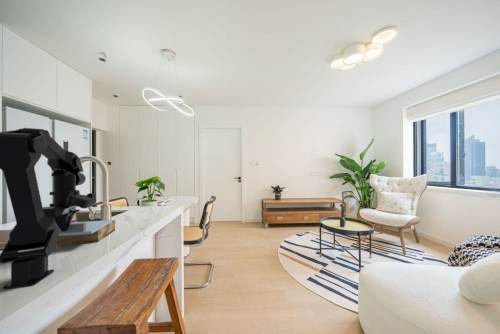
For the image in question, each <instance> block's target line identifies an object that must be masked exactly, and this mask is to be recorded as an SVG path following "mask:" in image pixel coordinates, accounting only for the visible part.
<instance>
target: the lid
mask: <svg viewBox="0 0 500 334" xmlns="http://www.w3.org/2000/svg"><path fill="white" fill-rule="evenodd" d="M112 220H113V219H110V220H93V221H91V220H90V221H75V222H73V223H70V225H69V227H68V230H67V231H65V232H62V231H61V229H60V228H59V227H58V225H57V224H56V223H55V224H56V226H57V230H58V232H59V235H58V236H68V235H82V234H92V233H94V232H95V231H97V230H99V229H101V228H103V227H104V226H106V225H108V224H110V223H111V222H112Z"/></svg>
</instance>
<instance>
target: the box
mask: <svg viewBox="0 0 500 334" xmlns="http://www.w3.org/2000/svg"><path fill="white" fill-rule="evenodd" d="M111 220H112V222H111V223H110V224H108V225H106V226H104V227H103V228H101V229H99V230H97V231H95V232H94V233H92V234H82V235H68V236H58V241H57V246H64V245H75V244H77V245H78V244H88V243H98V242H100V241H102V240H103V239H105V238H106V237H107V236H109V235H110V234H112V233H113V232H114V231H116V220H115V219H111Z"/></svg>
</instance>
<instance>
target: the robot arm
mask: <svg viewBox="0 0 500 334" xmlns="http://www.w3.org/2000/svg"><path fill="white" fill-rule="evenodd" d="M42 156H43V157H45V158H46V159H47V161H46V164H47V166H49V167H50V169H51V171H53V172H52V173H51V177H52V178H53V179H52V180H53V181H52V185H53V186H52V191H50V192H49V196H52V197H53V198H52V199H53V200H52V201H53V202H52V203H49V206H44V207H43V204H42V203H43V202H42V197H41V193H40V190H39V184H38V183H39V182H38V180H37V174H36V170H35V166H36V165H37V163H38V162H39V160H40V159H41V157H42ZM83 168H84V167H83V165H82V161H81V158H80V156H78V155H77V154H76V153H74V152H73V151H69V150H66V149H64V148H63V147H62V146H61V145H60V144H59V143H58V142H57V141H56V140H55V139H54V138H53V137H52V136H51V134H50V132H49V130H46V129H44V128H34V127H33V128H32V127H30V128H29V127H23V128H18V129H14V130H6V131H0V170H1V171H2V173H3V176H4V180H5V185H6V187H7V191H8V196H9V199H10V204H11V208H12V211H13V215H14V219H15V222H16V223H15V225H14V226H13V228H12V230H10V233H9V234H8V238H9V239H8V240H7V242H6V244H5V246H4V247H3V250H2V251H1V252H0V264H1V265H2V264H6V263H10V265H11V266H10V282H7V283H6V284H4V285H3V286H2V289H9V288H11V289H12V288H17V287H18V288H19V287H26V286H34V285H36V284H38V283H39V282H40V281H42V280H44V279H45V278H46V277H48V276H49V275H51V274H53V273H54V272H55V269H49V256H50V255H52V254H53V253H55V251H56V250H57V247H58V245H57V241H58V235H59V232H58V230H57V226H56V224H57V225H58V227H59V228H60V229H61V231H62V232H65V231H67V230H68V227H69V225H70V222H71V220H72V218H73V216H74V214H75V215H76V214H78V212H80V211H81V209H88V208H91V207H92V206H93V204H94V203H95V202H96V201H97V200H96V199H97V197H96V194H95V193H92V192H90V193H87V194H81V193H80V190H79V189H76V188H77V186H78V187H79V186H81V185H83V184H84V183H85V182H86V180H87V179H86V176H85V174H84V169H83ZM77 207H79V208H80V209H77Z"/></svg>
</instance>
